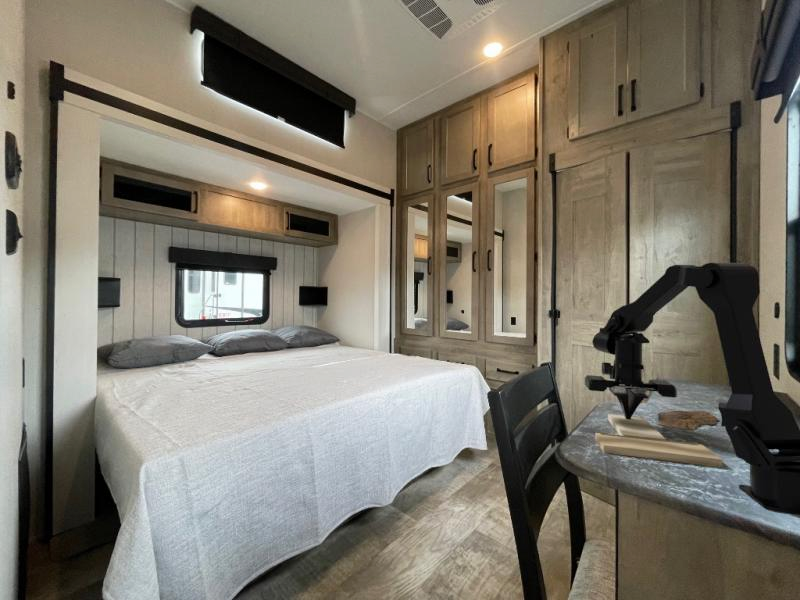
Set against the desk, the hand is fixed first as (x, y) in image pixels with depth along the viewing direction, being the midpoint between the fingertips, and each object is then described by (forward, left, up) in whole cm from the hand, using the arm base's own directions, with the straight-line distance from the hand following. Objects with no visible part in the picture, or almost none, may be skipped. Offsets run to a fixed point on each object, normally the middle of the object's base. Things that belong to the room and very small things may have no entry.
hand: (627, 418), depth 84 cm
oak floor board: (-15, 0, -2) cm, 16 cm away
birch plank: (-4, 0, -2) cm, 5 cm away
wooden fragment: (+12, -18, -3) cm, 21 cm away
